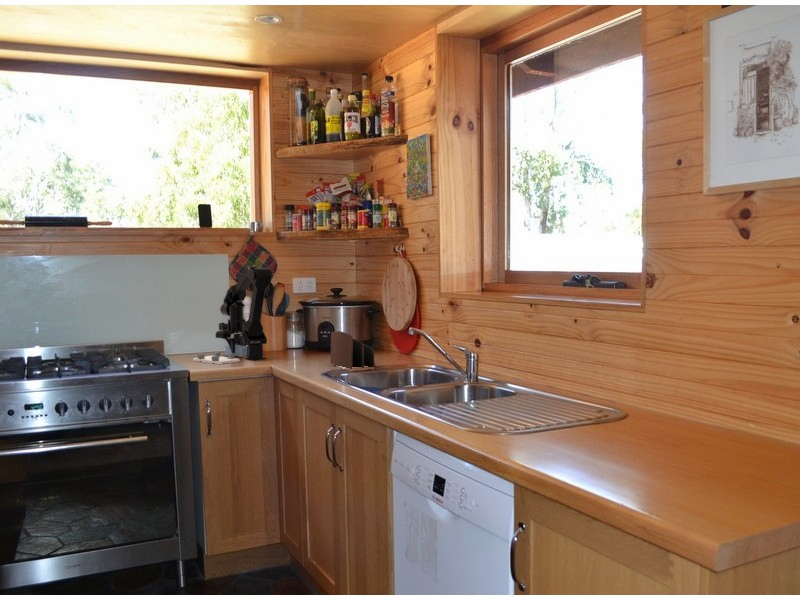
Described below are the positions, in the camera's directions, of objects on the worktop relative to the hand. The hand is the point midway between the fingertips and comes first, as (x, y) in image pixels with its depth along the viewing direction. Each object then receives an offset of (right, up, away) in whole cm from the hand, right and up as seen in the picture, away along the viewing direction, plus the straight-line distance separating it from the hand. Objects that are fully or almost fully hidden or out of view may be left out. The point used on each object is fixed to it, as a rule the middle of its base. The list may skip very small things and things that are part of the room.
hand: (237, 352), depth 313 cm
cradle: (-5, -2, -17) cm, 17 cm away
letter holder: (+52, -3, -37) cm, 64 cm away
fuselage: (0, -1, 0) cm, 1 cm away
